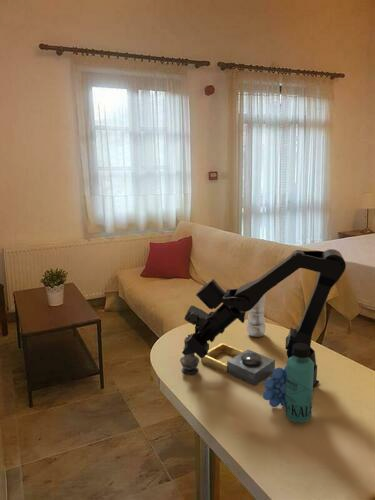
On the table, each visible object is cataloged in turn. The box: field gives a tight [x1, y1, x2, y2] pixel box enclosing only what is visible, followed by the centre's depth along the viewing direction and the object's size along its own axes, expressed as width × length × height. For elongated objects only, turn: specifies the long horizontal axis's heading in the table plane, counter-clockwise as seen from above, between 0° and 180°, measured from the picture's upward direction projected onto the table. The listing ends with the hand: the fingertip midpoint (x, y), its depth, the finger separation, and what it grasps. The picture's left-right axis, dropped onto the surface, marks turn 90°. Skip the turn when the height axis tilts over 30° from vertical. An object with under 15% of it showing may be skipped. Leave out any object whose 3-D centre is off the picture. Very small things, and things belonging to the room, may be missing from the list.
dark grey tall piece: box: [179, 334, 200, 376], centre depth 118 cm, size 6×6×12 cm
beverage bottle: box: [283, 343, 314, 423], centre depth 94 cm, size 6×7×20 cm
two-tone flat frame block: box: [200, 342, 276, 387], centre depth 120 cm, size 21×11×5 cm, turn 44°
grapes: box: [262, 364, 287, 408], centre depth 101 cm, size 12×7×12 cm, turn 96°
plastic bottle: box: [246, 293, 267, 338], centre depth 139 cm, size 6×7×20 cm
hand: (184, 350), depth 118 cm, fingers closed on dark grey tall piece, 4 cm apart
